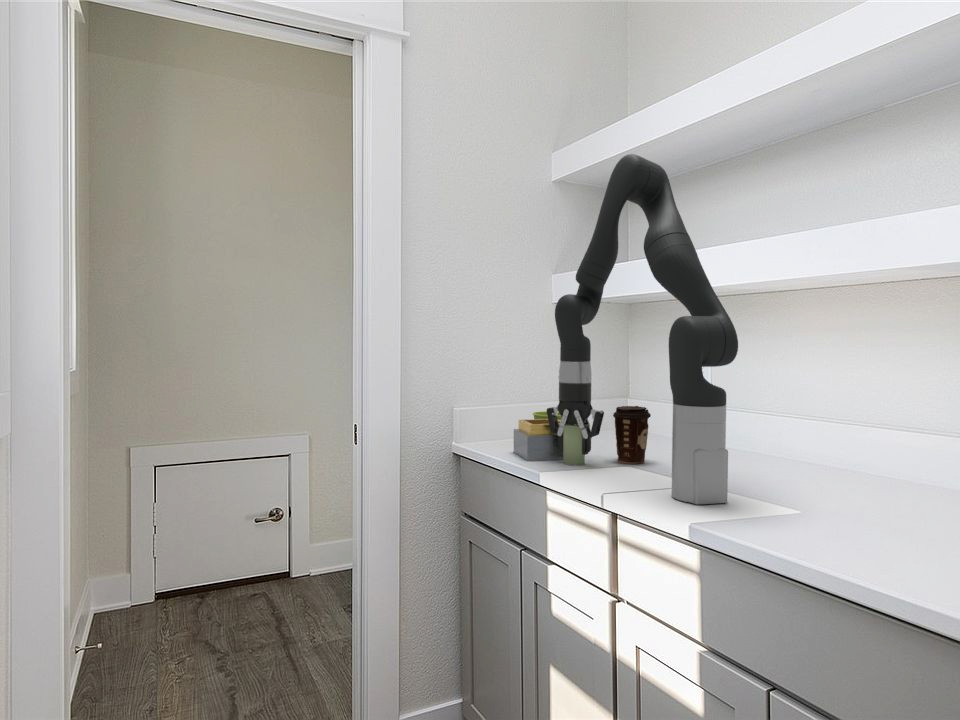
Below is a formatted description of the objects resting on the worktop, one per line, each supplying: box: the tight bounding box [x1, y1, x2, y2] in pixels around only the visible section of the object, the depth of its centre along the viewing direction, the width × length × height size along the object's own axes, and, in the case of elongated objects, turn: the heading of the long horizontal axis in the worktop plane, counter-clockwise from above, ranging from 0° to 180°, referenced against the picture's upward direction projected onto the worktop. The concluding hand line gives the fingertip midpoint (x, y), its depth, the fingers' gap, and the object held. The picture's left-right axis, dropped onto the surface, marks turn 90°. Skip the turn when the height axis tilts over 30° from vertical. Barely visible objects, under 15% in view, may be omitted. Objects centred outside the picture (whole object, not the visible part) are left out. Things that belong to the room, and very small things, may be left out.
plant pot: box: [531, 410, 562, 420], centre depth 176 cm, size 9×9×9 cm
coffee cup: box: [612, 405, 652, 465], centre depth 152 cm, size 9×8×13 cm
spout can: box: [562, 423, 586, 466], centre depth 150 cm, size 5×5×10 cm
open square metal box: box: [513, 418, 563, 462], centre depth 159 cm, size 12×12×8 cm
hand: (574, 452), depth 150 cm, fingers closed on spout can, 5 cm apart
